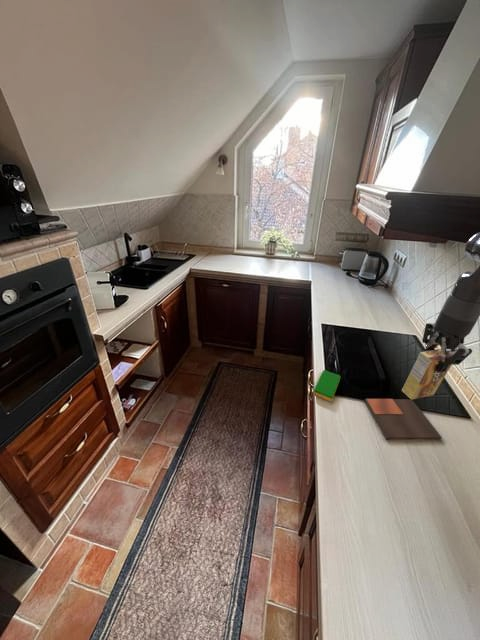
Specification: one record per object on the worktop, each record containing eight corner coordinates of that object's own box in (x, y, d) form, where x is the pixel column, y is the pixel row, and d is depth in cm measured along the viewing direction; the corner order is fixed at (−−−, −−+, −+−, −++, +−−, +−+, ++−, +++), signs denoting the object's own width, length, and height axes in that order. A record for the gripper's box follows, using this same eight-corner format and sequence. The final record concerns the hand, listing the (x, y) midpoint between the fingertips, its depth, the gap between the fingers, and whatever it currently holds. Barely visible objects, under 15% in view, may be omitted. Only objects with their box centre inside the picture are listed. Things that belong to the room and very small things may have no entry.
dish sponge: (339, 380, 105) (341, 375, 103) (331, 402, 94) (332, 397, 93) (322, 373, 108) (323, 369, 107) (312, 394, 97) (313, 390, 96)
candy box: (422, 385, 82) (443, 347, 74) (434, 395, 78) (457, 356, 70) (400, 390, 79) (419, 351, 72) (411, 400, 76) (432, 360, 68)
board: (410, 401, 96) (412, 398, 95) (440, 439, 82) (442, 437, 81) (364, 400, 95) (364, 398, 95) (386, 439, 81) (387, 437, 81)
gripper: (499, 328, 59) (464, 382, 67) (452, 301, 71) (428, 350, 79) (468, 327, 58) (437, 382, 67) (426, 300, 71) (404, 350, 79)
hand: (432, 364), depth 73 cm, fingers closed on candy box, 4 cm apart
